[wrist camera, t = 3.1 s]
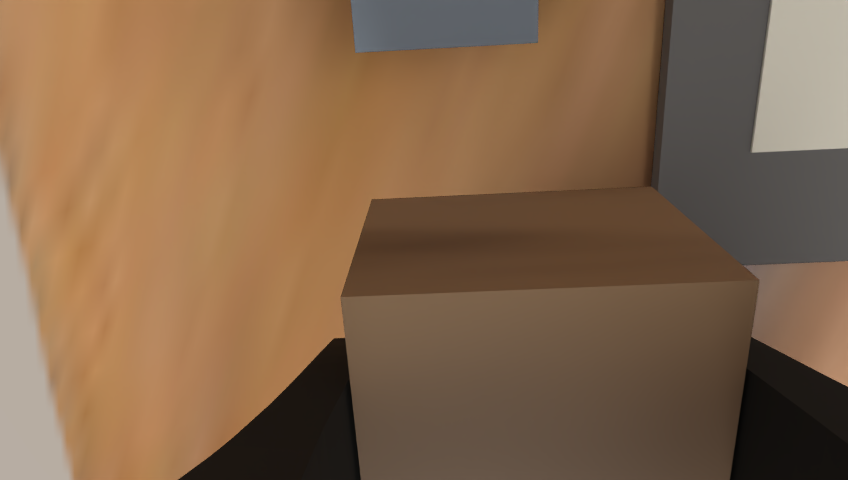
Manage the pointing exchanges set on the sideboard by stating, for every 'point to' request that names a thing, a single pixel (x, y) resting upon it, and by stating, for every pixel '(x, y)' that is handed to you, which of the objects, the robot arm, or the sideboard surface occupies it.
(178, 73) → the sideboard surface
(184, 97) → the sideboard surface
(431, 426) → the walnut block
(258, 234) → the sideboard surface
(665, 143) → the mat
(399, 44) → the blue block
